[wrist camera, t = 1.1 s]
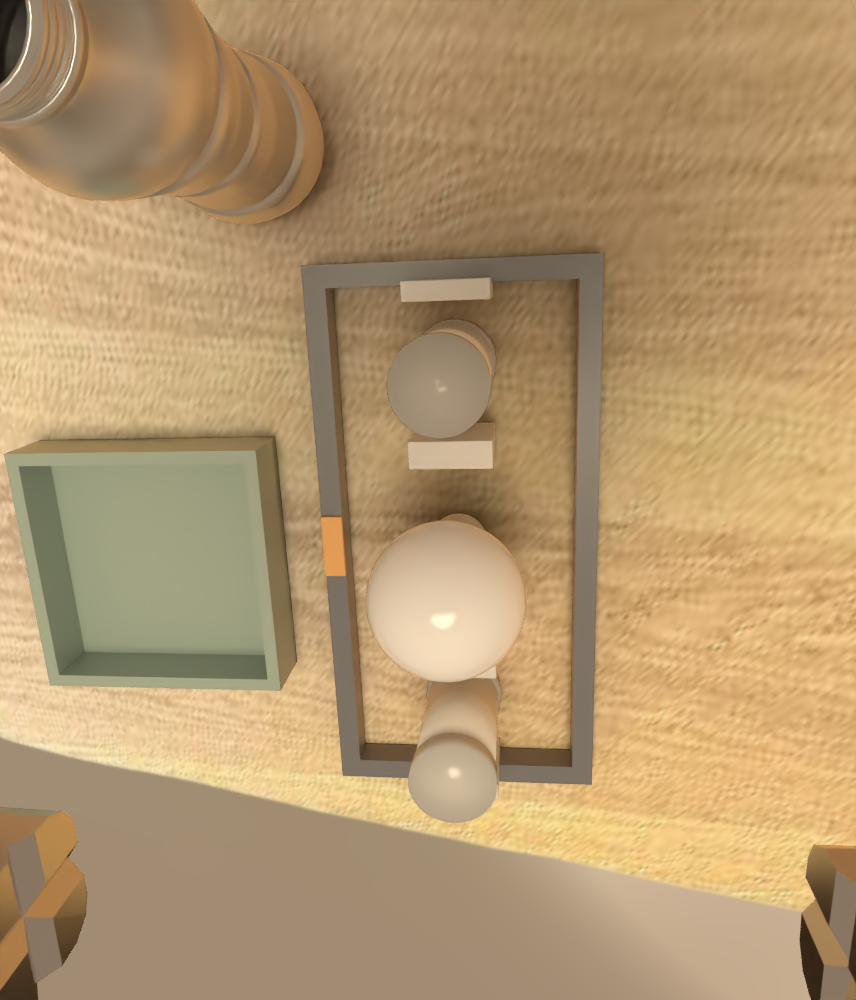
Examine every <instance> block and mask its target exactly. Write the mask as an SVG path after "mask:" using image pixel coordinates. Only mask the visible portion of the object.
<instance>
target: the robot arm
mask: <svg viewBox="0 0 856 1000" xmlns="http://www.w3.org/2000/svg"><path fill="white" fill-rule="evenodd" d="M77 843H78V840H77V836H76V831H75V827H74V823H73V819H72V817H71V816H69V815H67V814H65V813H63V812H62V811H51V810H35V809H21V808H8V807H0V1000H38V988H37V982H39V981H40V980H42V979H43V978H45V977H46V976H48V975H49V974H51V973H52V972H54V971H55V970H57V969H58V968H60V967H61V966H62V965H63V964H64V962H65V960H66V959H67V958H68V956H69V954H70V953H71V951H72V950H73V948H74V946H75V945H76V943H77V941H78V938H79V935H80V932H81V928H82V925H83V923H84V920H85V917H86V906H87V888H86V882H85V876H84V874H83V873H82V872H81V871H80V869H79V868H78V867H77V866H76V865H75V864H74V863H73V862H72V861H71V860H70V858H69V856H70V854H71V852H72V851H73V849H74V848H75V846H76V844H77ZM806 879H807V881H808V883H809V885H810V888H811V890H812V892H813V894H814V896H815V898H816V900H815V901H814V902H813V903H811V904H810V905H809V906H808V907H807V908H806V909H805V910H804V911H803V912H802V915H801V928H800V929H801V930H800V949H801V958H802V967H803V973H804V977H805V980H806V984H807V988H808V992H809V995H810V998H811V1000H856V846H838V845H813V847H812V849H811V852H810V854H809V856H808V863H807V871H806Z"/></svg>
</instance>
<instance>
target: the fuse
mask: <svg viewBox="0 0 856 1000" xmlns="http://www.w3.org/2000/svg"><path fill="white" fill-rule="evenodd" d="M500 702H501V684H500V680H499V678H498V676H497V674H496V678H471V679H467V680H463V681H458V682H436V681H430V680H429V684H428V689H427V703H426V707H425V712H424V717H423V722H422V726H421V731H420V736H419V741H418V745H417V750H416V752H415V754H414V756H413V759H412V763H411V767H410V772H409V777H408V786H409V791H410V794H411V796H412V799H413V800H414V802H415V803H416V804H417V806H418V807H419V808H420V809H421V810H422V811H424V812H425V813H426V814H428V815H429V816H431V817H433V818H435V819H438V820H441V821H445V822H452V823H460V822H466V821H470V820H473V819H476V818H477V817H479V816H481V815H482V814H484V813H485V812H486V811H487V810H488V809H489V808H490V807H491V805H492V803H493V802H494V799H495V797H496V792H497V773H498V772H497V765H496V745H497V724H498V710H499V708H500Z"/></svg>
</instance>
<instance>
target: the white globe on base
mask: <svg viewBox="0 0 856 1000" xmlns="http://www.w3.org/2000/svg"><path fill="white" fill-rule="evenodd" d="M495 369H496V353H495V349H494V346H493V343H492V341H491V339H490V338H489V336H488V335H487V334H486V333H485V332H484V331H483V330H482V329H481V328H480V327H478V326H477V325H475V324H473V323H471V322H469V321H465V320H460V319H450V320H445V321H442V322H439V323H437V324H435V325H433V326H432V327H431V328H429V329H428V330H427V331H426V332H424V333H423V334H422V336H420V337H418V338H416V339H414V340H413V341H411V342H410V343H409V344H407V345H406V346H405V347H404V348H403V349H401V350H400V352H399V353H398V354H397V355H396V357H395V358H394V360H393V362H392V364H391V366H390V369H389V372H388V377H387V395H388V399H389V403H390V405H391V408H392V410H393V411H394V413H395V415H396V416H397V417H398V419H399V420H400V421H401V422H402V423H403V424H404V425H405V426H406V427H407V428H409V429H410V430H412V431H414V432H415V433H418V434H420V435H423V436H426V437H431V438H448V437H453V436H456V435H459V434H461V433H463V432H465V431H466V430H468V429H469V428H471V427H472V426H473V425H474V424H475V423H476V422H477V421H478V420H479V419H480V417H481V416H482V414H483V413H484V411H485V409H486V407H487V404H488V401H489V396H490V391H491V382H492V380H493V377H494V374H495Z"/></svg>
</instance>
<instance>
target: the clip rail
mask: <svg viewBox="0 0 856 1000" xmlns="http://www.w3.org/2000/svg"><path fill="white" fill-rule="evenodd" d="M301 272H302V284H303V296H304V309H305V321H306V333H307V345H308V357H309V369H310V382H311V394H312V406H313V418H314V430H315V442H316V455H317V467H318V479H319V491H320V503H321V515H322V516H321V529H322V541H323V553H324V565H325V576H327V588H328V601H329V613H330V625H331V637H332V649H333V662H334V674H335V686H336V698H337V710H338V722H339V735H340V747H341V759H342V771H343V776H366V777H393V778H408V777H409V772H410V767H411V763H412V759H413V756H414V754H415V752H416V750H417V745H400V744H368V743H365V730H364V716H363V702H362V688H361V674H360V660H359V646H358V632H357V618H356V604H355V590H354V576H353V562H352V548H351V534H350V520H349V506H348V492H347V478H346V464H345V450H344V436H343V422H342V408H341V394H340V380H339V366H338V352H337V338H336V324H335V311H334V297H333V288H347V287H373V286H399V285H400V293H401V302H418V301H446V300H474V299H490V298H491V297H492V296H493V282H503V281H529V280H555V279H577V321H576V390H575V460H574V530H573V599H572V669H571V738H570V750H560V749H528V748H500V738H497V745H496V765H497V772H498V773H497V792H496V797H495V799H494V800H498V791H499V781H504V782H531V783H559V784H586V785H592V752H593V710H594V667H595V625H596V583H597V541H598V499H599V457H600V414H601V372H602V330H603V288H604V253H586V254H563V255H539V256H515V257H492V258H468V259H444V260H420V261H397V262H373V263H349V264H326V265H302V266H301ZM494 455H495V423H475V424H474V425H473V426H472V427H471V428H469V429H468V430H466V431H465V432H463V433H461V434H459V435H456V436H453V437H448V438H431V437H426V436H423V435H420V434H418V433H415V432H414V433H413V434H412V436H411V438H410V439H409V441H408V460H409V469H493V463H494ZM496 672H497V664H496V665H495V666H494V667H493V668H491V669H490V670H488V671H486V672H484V673H483V674H481V675H478V676H476V677H473V678H496Z"/></svg>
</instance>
